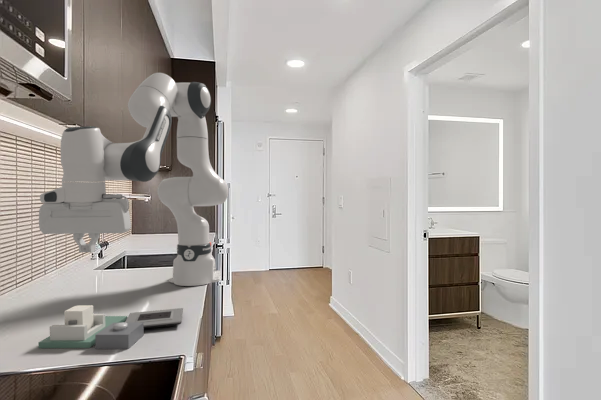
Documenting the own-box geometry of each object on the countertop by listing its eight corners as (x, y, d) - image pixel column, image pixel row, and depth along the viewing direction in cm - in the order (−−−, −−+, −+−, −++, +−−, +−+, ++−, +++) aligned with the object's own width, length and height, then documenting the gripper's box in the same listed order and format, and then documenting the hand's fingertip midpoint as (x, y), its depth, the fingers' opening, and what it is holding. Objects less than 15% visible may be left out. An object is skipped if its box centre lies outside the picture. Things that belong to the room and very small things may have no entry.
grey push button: (113, 335, 81) (113, 319, 81) (143, 335, 81) (143, 319, 81) (95, 348, 74) (95, 331, 74) (128, 348, 74) (128, 330, 74)
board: (85, 320, 91) (84, 304, 91) (127, 320, 91) (127, 304, 91) (38, 348, 75) (38, 328, 75) (89, 347, 75) (89, 328, 75)
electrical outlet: (122, 336, 82) (122, 326, 82) (130, 320, 92) (130, 311, 92) (181, 329, 86) (181, 320, 85) (183, 315, 96) (183, 306, 96)
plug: (76, 326, 82) (76, 305, 82) (93, 326, 82) (93, 305, 82) (63, 334, 77) (62, 312, 77) (81, 334, 77) (80, 311, 77)
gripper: (134, 193, 87) (136, 249, 87) (52, 194, 87) (54, 249, 88) (121, 194, 80) (123, 254, 81) (32, 195, 80) (35, 255, 81)
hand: (87, 251), depth 84 cm, fingers closed
